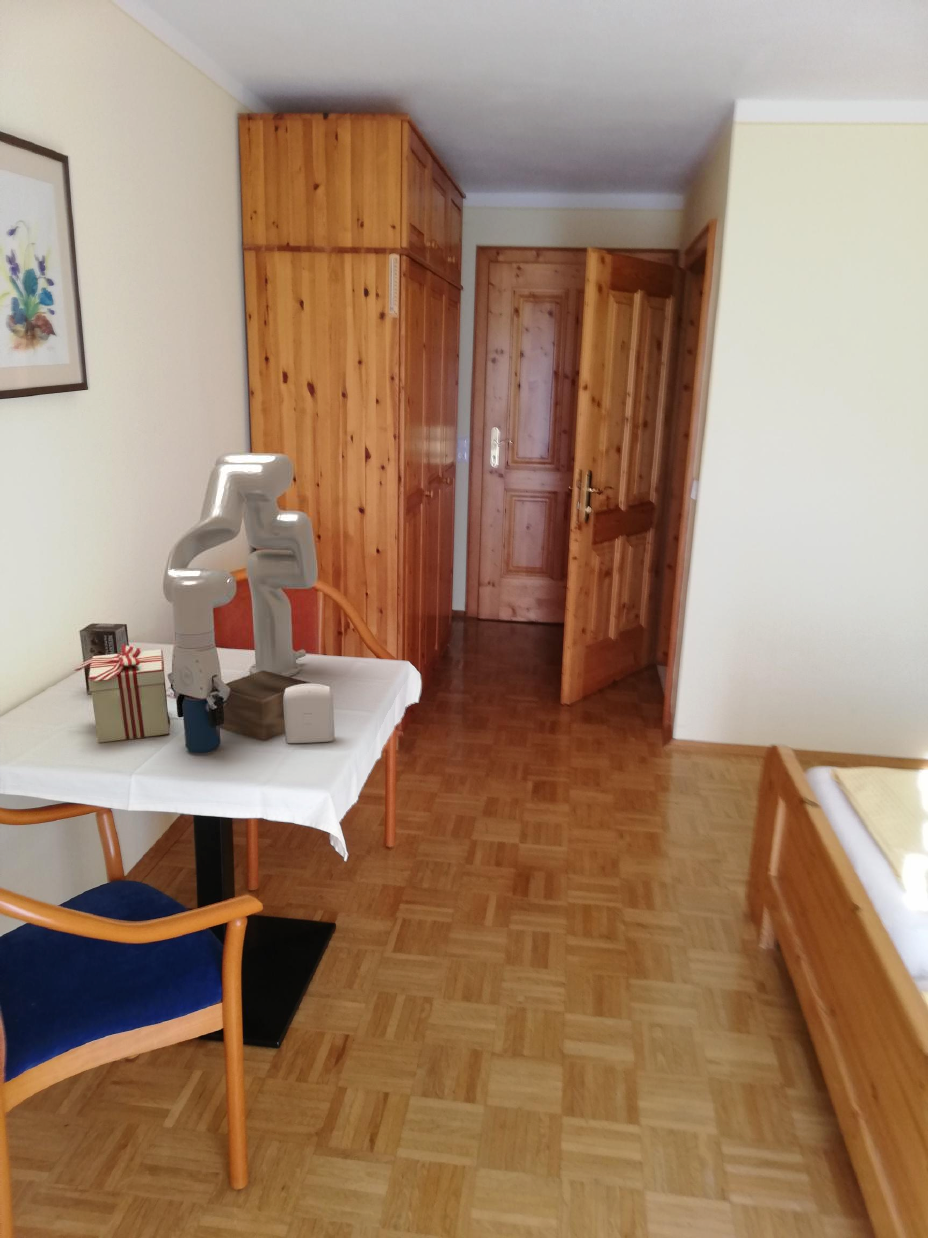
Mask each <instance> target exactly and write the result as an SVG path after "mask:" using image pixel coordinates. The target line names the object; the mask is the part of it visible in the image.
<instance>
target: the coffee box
mask: <svg viewBox="0 0 928 1238" xmlns="http://www.w3.org/2000/svg"><path fill="white" fill-rule="evenodd" d="M128 634H129V633H128V624H126V623H90V624H88V625H86V626H85V627H83V628H82V629H80V630H79V639H80V646H81V654H82V664H83V663H84V662H86V661H87V660H89V659H92V656H100V655H110V654H118V653H122V646H123V645H127V646H130V643H129V636H128ZM83 670H84V671H83V672H84V680H85V686H86V687H85V689H86V695H91V696H92V692H90V691H89V682H88V677H89V670H90V665H88V666H86V667H84V668H83Z"/></svg>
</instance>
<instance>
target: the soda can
mask: <svg viewBox="0 0 928 1238" xmlns="http://www.w3.org/2000/svg"><path fill="white" fill-rule="evenodd" d="M212 698H213V699H214V701H215V700H216V699H217V698H216V697H215V696H213V697H212ZM182 708H183V717H182V718H183V731H184V743H185V747H186V749H187V750H188V752H189V753H191V754H193V755H198V756H200V755H202V756H203V755H208V754H209V755H210V754H212V753H215V752H216V751H217V750H218V748H219V746H220V744H221V742H222V741H221V728H220V726H216V727H214V728H212V727H210V719H209V708H211V706H210V704H209V703H208V701H207V699H206V698H205V699H198V698H194V697H191V696H187V695H185V698H184V700H183V703H182Z"/></svg>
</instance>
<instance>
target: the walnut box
mask: <svg viewBox="0 0 928 1238" xmlns="http://www.w3.org/2000/svg"><path fill="white" fill-rule="evenodd" d="M225 684H226V685H227V686H228V687H229V688H230V693H229V696H228V700H227V701H226V703H225V705H224V706H223V710H224V724H222V725H219V726H220V729H224V730H227V731H230V732H234V733H237V734H240V735H242V736H247V737H250V738H253V739H255V740H260V741H263V742H265V741H267V740H269V739H272V738H274V737H277V736H279V735H281V734H283V733H285V723H284V707H283V697H284V693H285V689H286V688H288V687H291V686H295V685H299V684H311V681H308V680H303V679H299V678H295V677H293V676H289V677H288V676H284V675H280V674H276V673H272V672H268V671H264V670H262V671H259V672H257V673H254V674H249V675H246V676H243V677H240V678H237V679H234V680H231V681H228V682H225Z"/></svg>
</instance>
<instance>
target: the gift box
mask: <svg viewBox="0 0 928 1238" xmlns="http://www.w3.org/2000/svg"><path fill="white" fill-rule="evenodd" d="M164 664H165V661H164V653H163V650H162V648H161V649H149V650H141V648H138V647H134V646H130V645H129V646H127V645H123V646H122V653H118V654H110V655H100V656H92V659H89V660H87V661H86V662H84V663H83V662H82V664H80V666H78V667H77V668H76V669H74V670H73V671H75V672H77V671H80V670H82V669H84V667H86V666H88V665H90V670H89V677H88V682H89V691H90V692H92V695H91V699H92V707H93V714H94V721H95V722H94V723H95V728H96V730H95V731H96V737H97V744H103V743H110V742H119V741H124V740H125V741H127V740H134V739H135V740H136V739H142V738H148V737H149V738H150V737H156V736H157V737H158V736H164V735H166V736H167V735H170V728H169V726H170V725H171V720H170V716H169V710H168V709H169V708H168V697H167V688H166V674H165V665H164Z"/></svg>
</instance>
